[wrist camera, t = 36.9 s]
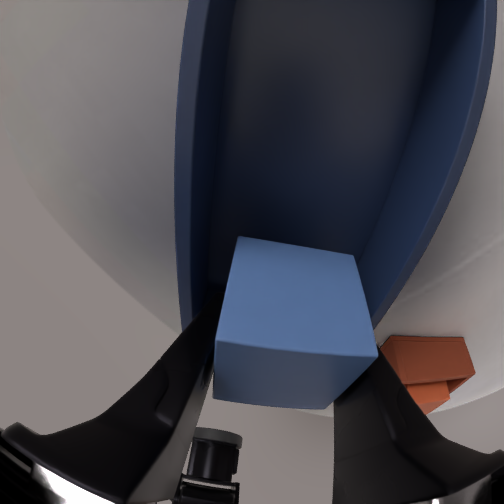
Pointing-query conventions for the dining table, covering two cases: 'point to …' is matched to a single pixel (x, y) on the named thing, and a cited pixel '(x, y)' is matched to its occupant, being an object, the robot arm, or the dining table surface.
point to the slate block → (291, 327)
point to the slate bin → (324, 131)
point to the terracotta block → (429, 394)
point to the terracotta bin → (429, 359)
